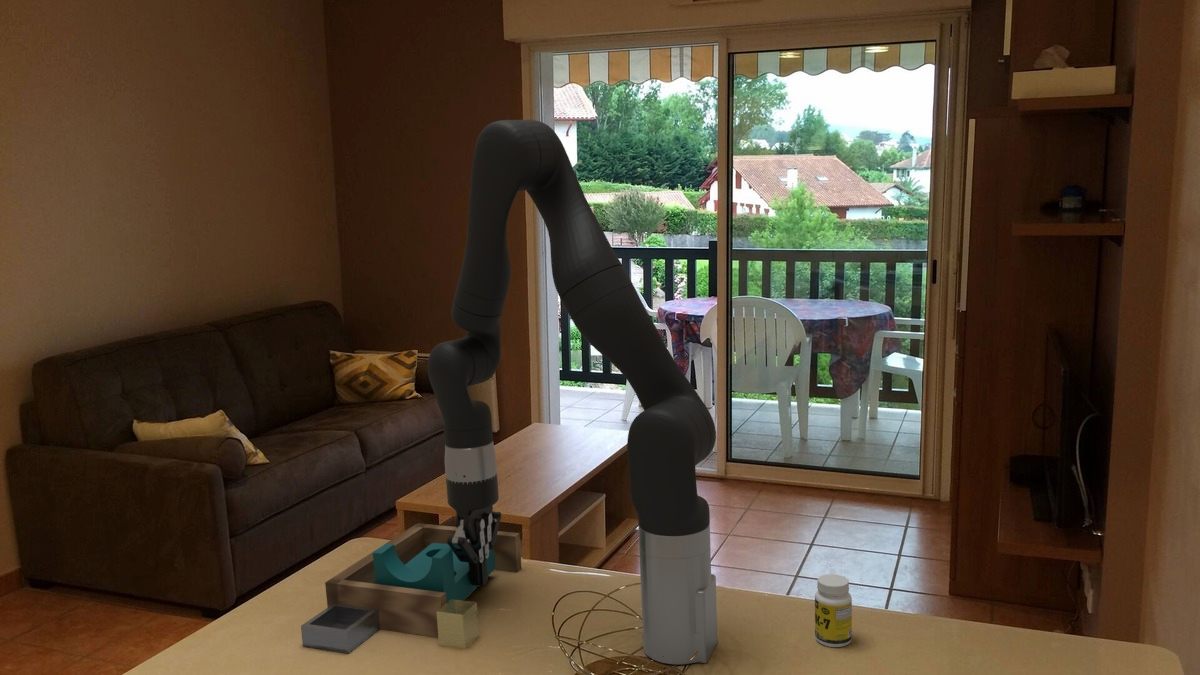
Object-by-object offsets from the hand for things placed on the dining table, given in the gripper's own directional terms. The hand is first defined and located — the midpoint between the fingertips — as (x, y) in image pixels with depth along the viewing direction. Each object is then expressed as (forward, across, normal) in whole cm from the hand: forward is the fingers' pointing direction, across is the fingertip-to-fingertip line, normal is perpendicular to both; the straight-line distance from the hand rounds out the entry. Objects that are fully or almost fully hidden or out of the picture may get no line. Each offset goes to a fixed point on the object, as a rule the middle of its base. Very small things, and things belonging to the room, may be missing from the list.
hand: (479, 583), depth 144 cm
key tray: (+2, -16, +13) cm, 21 cm away
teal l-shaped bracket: (+3, -1, +6) cm, 7 cm away
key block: (+3, -12, -3) cm, 13 cm away
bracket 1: (+3, 0, +9) cm, 9 cm away
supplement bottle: (+3, +2, -52) cm, 52 cm away
